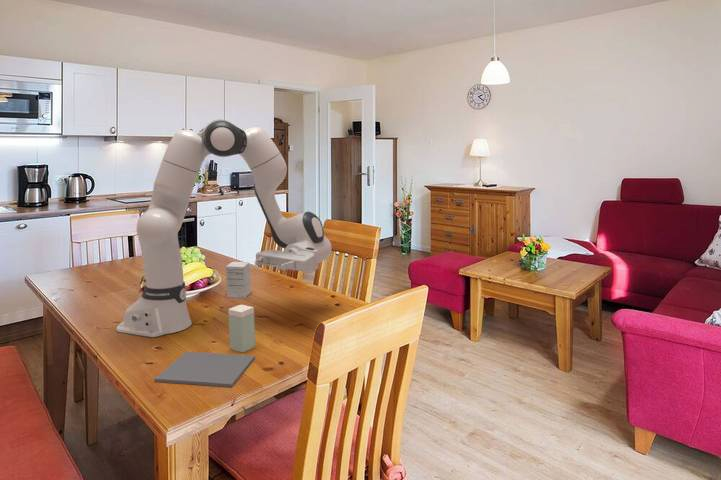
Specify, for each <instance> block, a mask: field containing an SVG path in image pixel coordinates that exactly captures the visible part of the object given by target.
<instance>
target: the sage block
mask: <svg viewBox="0 0 721 480" xmlns="http://www.w3.org/2000/svg"><path fill="white" fill-rule="evenodd" d="M254 308H255V306H249V305H245V304H238V305H235V306H233V307H230V308H228V330H229V331H228V332H229V347H230V348H229V349H230V350H233V351H236V352H240V353H245V352H247V351H249V350H251V349H254V348H255V347H256V332H255V331H256V329H255V309H254Z"/></svg>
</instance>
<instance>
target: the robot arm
mask: <svg viewBox="0 0 721 480" xmlns="http://www.w3.org/2000/svg"><path fill="white" fill-rule="evenodd" d="M209 155H214V156H216V157H221V158H224V157H231V156H236V155H239V156H240V157H241V158H243V160H244V161H245V162H246V165H247V166H248V168H249V169H250V171H251V173H252V176H253V179H254V184H253V190H254V194H255V196H256V199H257V201H258V204H259V206H260V208H261V210H262V213H263V215H264V218H265V219H266V222H267V224H268V226H269V230H270V233H271V237H272V240H273V241H274V243H275V244H276V245H278V246H279V247H280V248H282V249H283V250H279V249H268V250H262V251H259V252H258V251H257V252H256V254H255V261H254V265H255V266H256V267H262V266H269V267H275V268H278V269H279V270H280V271H286V270H291V271H296V272H297V271H299V272H309V271H316V270H319V263H321V262H323V261H326V260H327V259H328V258H329V256H331V252H332V249H333V248H332V242H331V240H329V238H327V236H326V235H325V234H324V233H325V232H324V226H323V223H322V221H321V219H320V218H319V217H318V216H317V215H316V214H315V213H313V212H312V211H305V212H301V213H299V214H296V215H294V216H291V217H288V218H286V217H284V215H283V214H282V213H283V212H282V211H281V209H280V207H279V204H278V201H277V200H276V195H275V193H276V190H277V189H278V187H279V186H280V185H281V184H282V182H284V180H285V178H286V175H287V171H288V167H287V163H286V161H285V159H284V157H283V155H282V153H281V151H280V150H279V149H278V147H277V145H276V143H275V142H274V141H273V140H272V138H271V136H270V135H269V134H268V133H267V132H266V131H265V129H263V128H262V127H259V126H252V127H248V128H246V129H244V130H243V129H241V128H240V127H238V126H236V125H235V124H233V123H232V122H230V121H228V120H226V119H215V120H212V121H210V122H208V123H207V124H206V126H205V127H203V128H202V129H201V130H199V131H194V130H190V129H179V130H178V131H176V132H175V133H174V135H173V136H172V138H171V140H170V141H169V144H168V146H167V147H166V150H165V151H164V154H163V157H162V159H161V162H160V164H159V165H160V166H159V169H158V171H157V174H156V177H155V180H154V183H153V190H152V193H151V198H150V202H149V205H148V208H147V210H146V211H145V212H143V213H142V214H141V215H140V216H139V218H138V220H137V222H136V234H137V237H138V241H139V246H140V251H141V254H142V259H143V264H144V274H145V276H144V277H145V285H143V286H141V287H140V288H138V293H142V294H141V297H140V298H138V299H137V300H136V301H134V302H133V303H132V304H131V305H130V306H128V307H127V308H126V310H125V312H124V315H123V321H122V322H120V323H119V324H117V327H116V332H118V333H123V334H130V335H135V336H141V337H149V338H156V337H160V336H163V335H168V334H174V333H177V332H181V331H184V330H186V329H188V328H189V327H191V325H192V324H193V322H192V319H191V317H190V314H189V310H188V306H187V301H186V300H187V290H186V282H185V281H184V270H183V258H182V254H181V248H180V244H179V234H178V233H179V231H180V230H181V228H182V225H183V222H184V219H185V216H186V212H187V210H188V206H189V203H190V200H191V196H192V193H193V190H194V188H195V185H196V181H197V179H198V176H199V174H200V170H201V168H202V165H203V162H204V160H205V159H206V157H208V156H209Z"/></svg>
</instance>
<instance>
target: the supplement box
mask: <svg viewBox="0 0 721 480" xmlns="http://www.w3.org/2000/svg"><path fill="white" fill-rule="evenodd" d="M250 267H251V266H250V262H247V261H231V262H230V263H228V264H227V265H225V278H226V279H225V280H226V281H225V282H226V293H227V296H226V297H227V298H230V299H231V298H232V299H233V298H234V299H246V298H247V297H248V296H249V295H250V294H251V293H252V291H251V290H252V288H251V268H250Z"/></svg>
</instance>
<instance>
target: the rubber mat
mask: <svg viewBox="0 0 721 480" xmlns="http://www.w3.org/2000/svg"><path fill="white" fill-rule="evenodd" d="M255 359H256V356H255V355H245V354H231V353H217V352H201V351H200V352H198V351H185V352H184V353H183V354H182V355H180V356H179V357H178V358H176V359H175V360H174V361H172V363H171V364H169V366H167V367H166V368H165V369H164V370H163V371H162V372H161V373H158V375H157V376H156V377H154V382H155V383H167V384H181V385H182V384H184V385H195V386H196V385H197V386H212V387H224V388H233V387H234V386H235V384H236V382H237V381H239V379H240V378H241V377H242V375H243V374H244V373H245V371H247V369H248V368H249V367H250V365H251V364H252V363H253V362H254V361H255Z"/></svg>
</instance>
